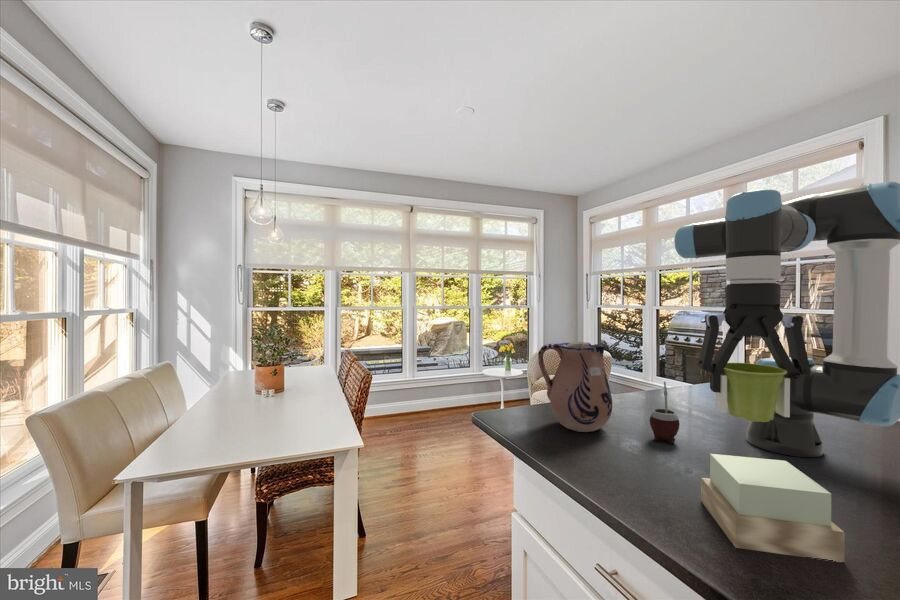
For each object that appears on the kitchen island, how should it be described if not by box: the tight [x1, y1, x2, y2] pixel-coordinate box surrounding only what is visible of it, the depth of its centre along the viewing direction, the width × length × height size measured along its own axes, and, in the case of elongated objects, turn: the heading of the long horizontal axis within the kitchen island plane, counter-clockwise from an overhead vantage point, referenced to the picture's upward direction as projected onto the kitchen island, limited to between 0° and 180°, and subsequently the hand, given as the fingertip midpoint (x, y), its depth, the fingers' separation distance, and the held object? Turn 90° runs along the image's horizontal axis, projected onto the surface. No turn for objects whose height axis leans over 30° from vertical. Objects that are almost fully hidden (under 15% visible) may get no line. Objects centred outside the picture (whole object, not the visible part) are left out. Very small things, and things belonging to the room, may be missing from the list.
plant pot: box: [722, 362, 787, 422], centre depth 67 cm, size 9×9×9 cm
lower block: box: [700, 477, 846, 563], centre depth 65 cm, size 14×14×5 cm
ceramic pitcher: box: [537, 341, 613, 433], centre depth 115 cm, size 18×21×25 cm
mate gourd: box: [649, 381, 680, 446], centre depth 105 cm, size 8×8×15 cm
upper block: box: [709, 453, 832, 526], centre depth 65 cm, size 12×12×5 cm
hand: (751, 412), depth 67 cm, fingers closed on plant pot, 8 cm apart
